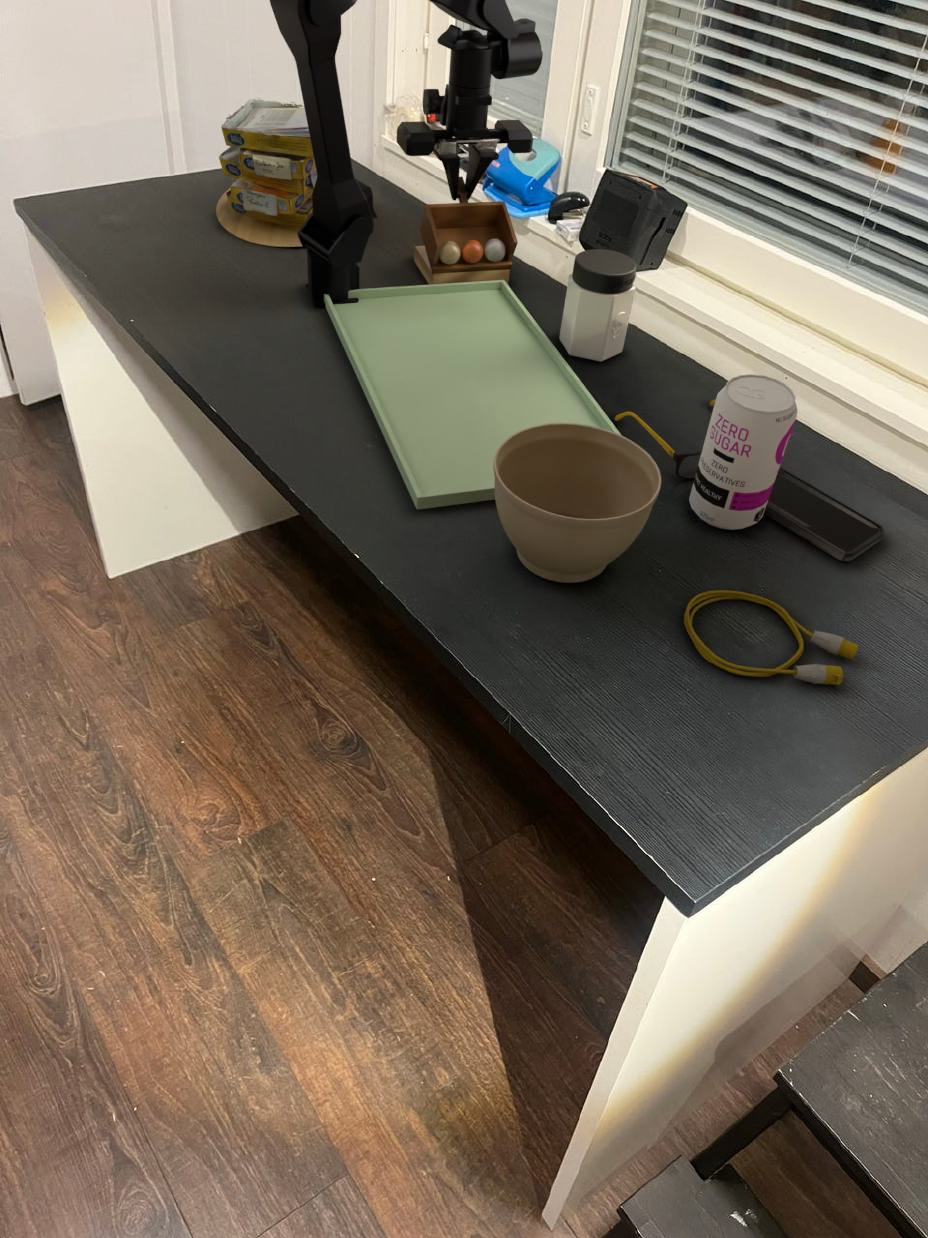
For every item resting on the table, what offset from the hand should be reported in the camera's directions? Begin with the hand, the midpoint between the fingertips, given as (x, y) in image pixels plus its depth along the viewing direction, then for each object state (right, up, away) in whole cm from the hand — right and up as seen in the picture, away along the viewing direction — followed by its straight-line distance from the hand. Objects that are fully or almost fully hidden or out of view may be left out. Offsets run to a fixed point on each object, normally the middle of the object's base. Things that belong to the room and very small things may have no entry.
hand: (460, 198), depth 140 cm
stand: (0, -9, +5) cm, 10 cm away
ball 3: (+5, -8, 0) cm, 9 cm away
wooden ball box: (0, -5, +2) cm, 5 cm away
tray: (+1, -31, -18) cm, 36 cm away
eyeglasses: (+28, -41, -24) cm, 55 cm away
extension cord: (+29, -65, -49) cm, 86 cm away
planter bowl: (+11, -55, -42) cm, 70 cm away
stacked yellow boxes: (-27, +4, +16) cm, 32 cm away
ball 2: (+2, -8, -1) cm, 9 cm away
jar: (+18, -24, -9) cm, 31 cm away
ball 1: (-2, -9, -2) cm, 9 cm away
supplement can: (+30, -50, -34) cm, 67 cm away
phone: (+39, -51, -34) cm, 72 cm away
